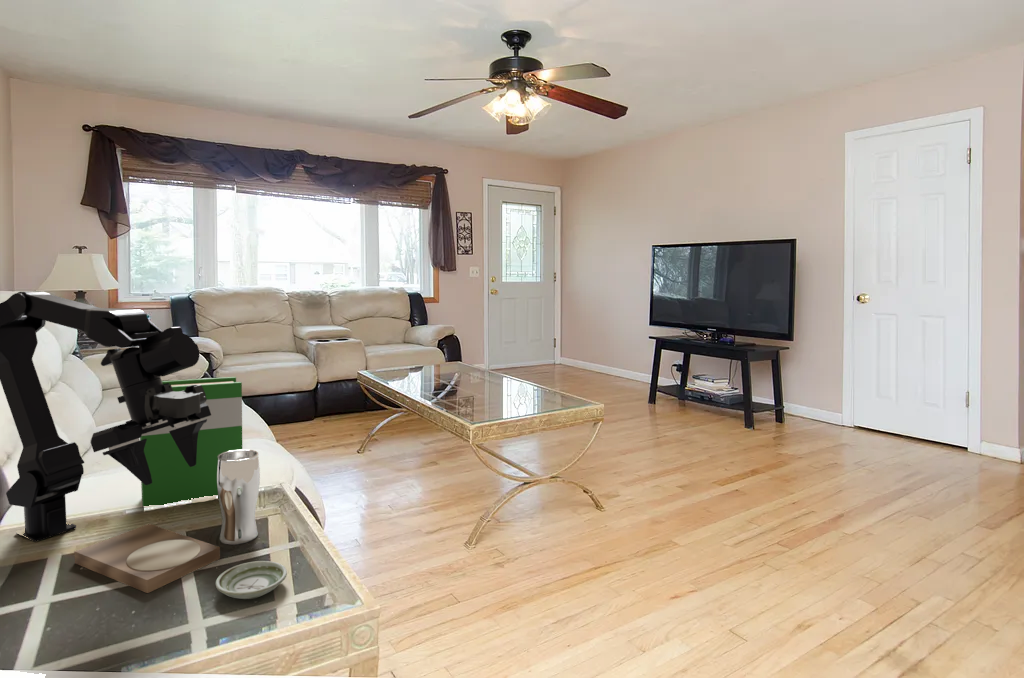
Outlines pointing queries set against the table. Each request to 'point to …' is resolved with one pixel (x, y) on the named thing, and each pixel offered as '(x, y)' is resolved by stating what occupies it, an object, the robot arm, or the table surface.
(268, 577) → the saucer
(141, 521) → the table surface
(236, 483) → the metal tumbler
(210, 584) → the table surface
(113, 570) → the walnut base
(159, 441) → the hardback book
